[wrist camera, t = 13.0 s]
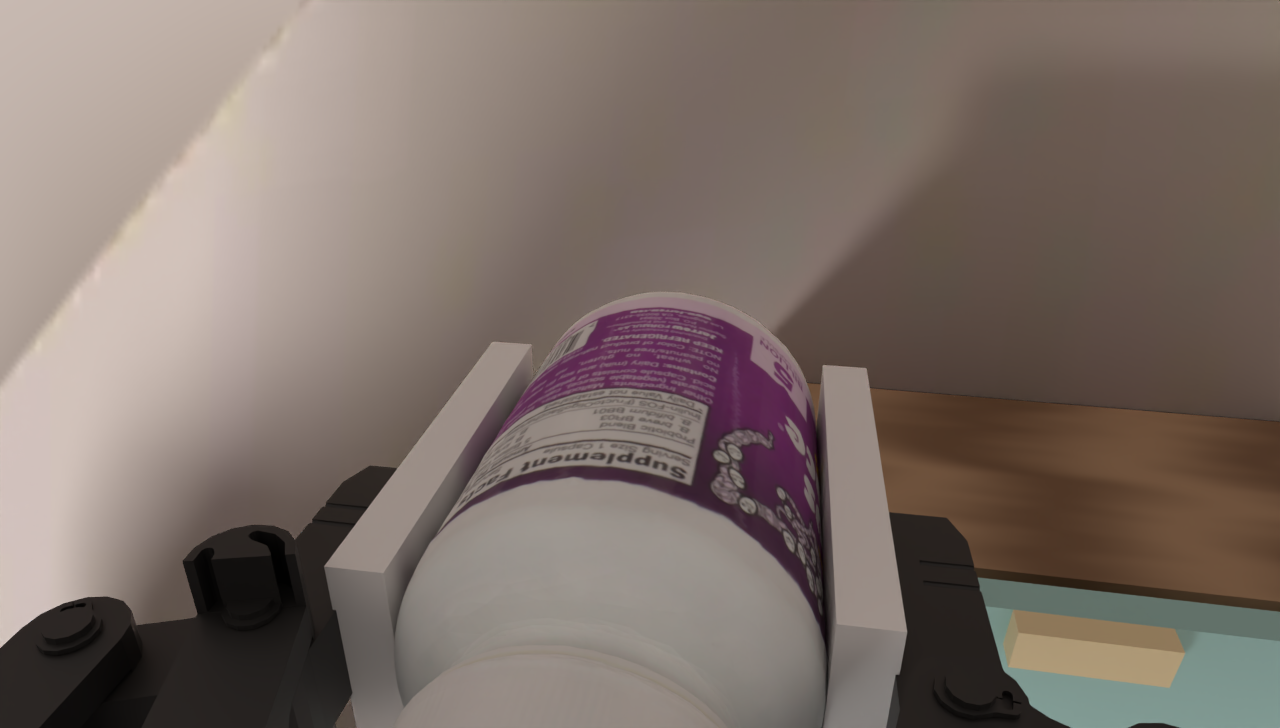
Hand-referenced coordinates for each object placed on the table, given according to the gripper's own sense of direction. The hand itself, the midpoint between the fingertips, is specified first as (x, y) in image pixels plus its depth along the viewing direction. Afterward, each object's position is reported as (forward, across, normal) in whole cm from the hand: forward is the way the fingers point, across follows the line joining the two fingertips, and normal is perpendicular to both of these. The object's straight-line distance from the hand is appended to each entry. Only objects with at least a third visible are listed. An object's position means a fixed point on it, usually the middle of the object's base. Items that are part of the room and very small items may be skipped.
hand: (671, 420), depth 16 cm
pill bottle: (+1, 0, 0) cm, 1 cm away
